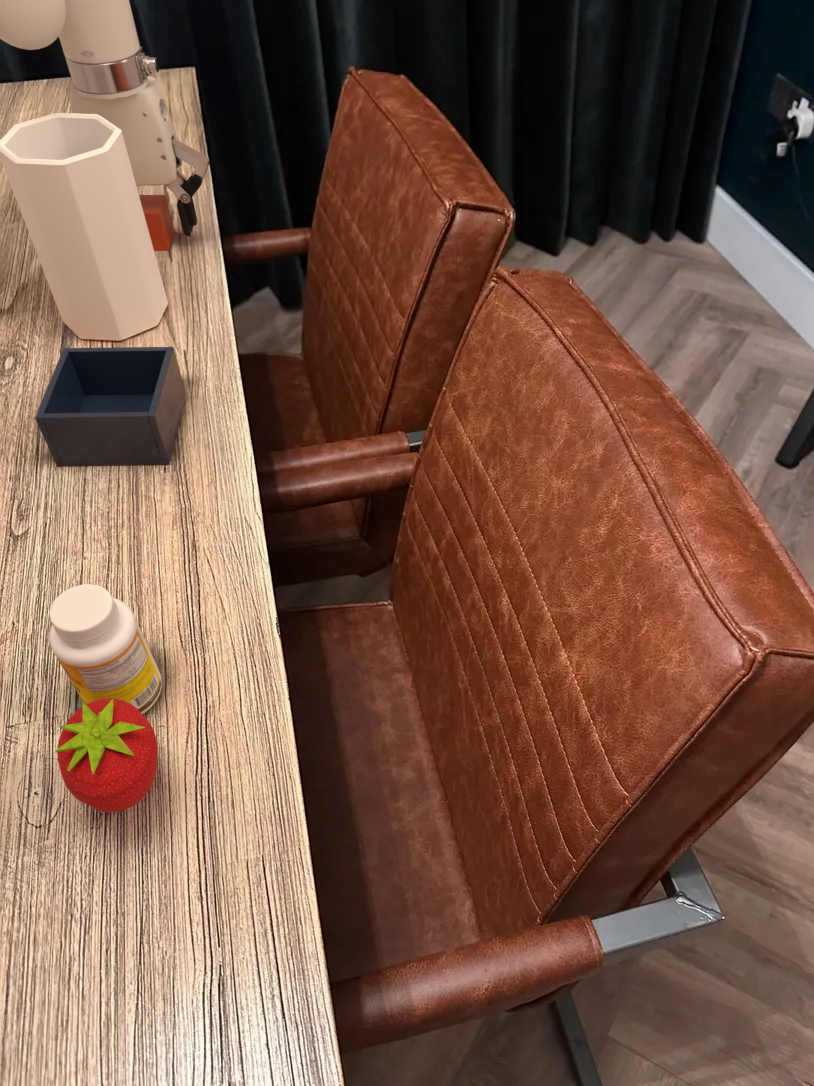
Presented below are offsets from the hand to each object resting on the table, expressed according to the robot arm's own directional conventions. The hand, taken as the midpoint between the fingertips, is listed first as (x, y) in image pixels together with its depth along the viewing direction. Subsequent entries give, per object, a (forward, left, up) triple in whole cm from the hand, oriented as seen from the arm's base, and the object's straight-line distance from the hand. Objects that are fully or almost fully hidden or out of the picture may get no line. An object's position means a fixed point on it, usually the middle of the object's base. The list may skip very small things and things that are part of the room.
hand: (151, 230), depth 104 cm
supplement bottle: (+9, -65, -1) cm, 66 cm away
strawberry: (+11, -73, -1) cm, 74 cm away
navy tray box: (+3, -35, -1) cm, 35 cm away
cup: (-1, -16, -1) cm, 16 cm away
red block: (0, 0, -1) cm, 1 cm away
